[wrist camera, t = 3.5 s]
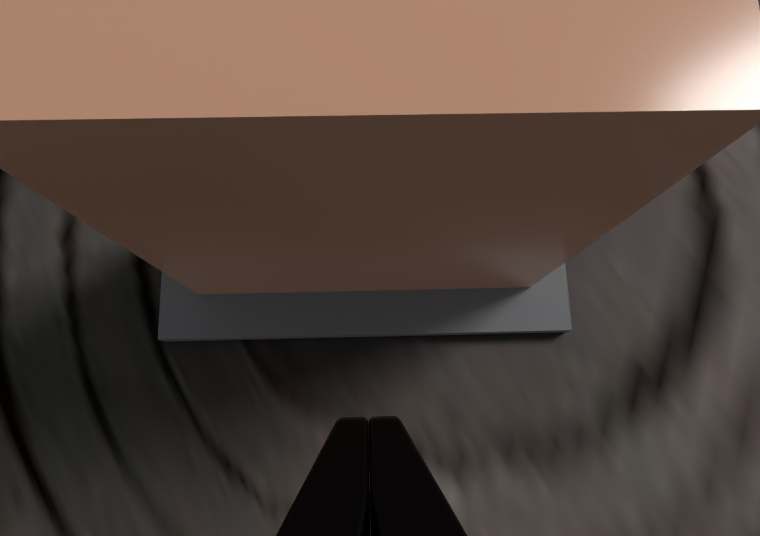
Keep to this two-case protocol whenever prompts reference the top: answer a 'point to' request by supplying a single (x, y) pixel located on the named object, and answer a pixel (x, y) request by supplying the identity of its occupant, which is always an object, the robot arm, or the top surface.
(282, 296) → the rubber mat
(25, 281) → the top surface
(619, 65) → the terracotta tile
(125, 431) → the top surface
